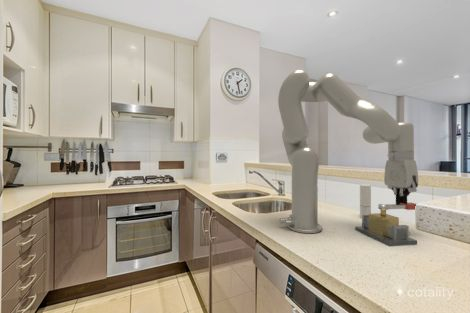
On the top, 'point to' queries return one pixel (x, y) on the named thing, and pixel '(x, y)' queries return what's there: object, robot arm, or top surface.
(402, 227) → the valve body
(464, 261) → the top surface
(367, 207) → the tube
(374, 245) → the top surface
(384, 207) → the valve lever
